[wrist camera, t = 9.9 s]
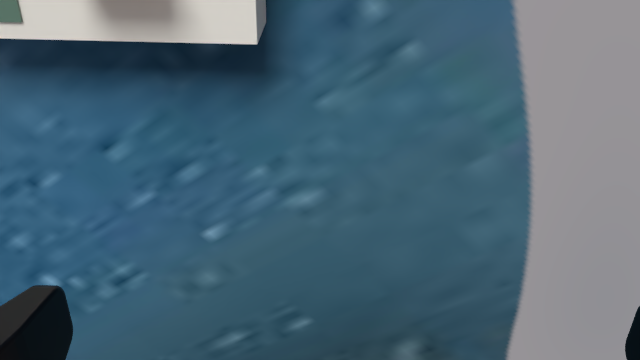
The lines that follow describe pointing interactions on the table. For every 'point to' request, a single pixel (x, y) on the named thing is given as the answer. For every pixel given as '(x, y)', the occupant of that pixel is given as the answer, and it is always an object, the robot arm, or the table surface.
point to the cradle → (135, 20)
